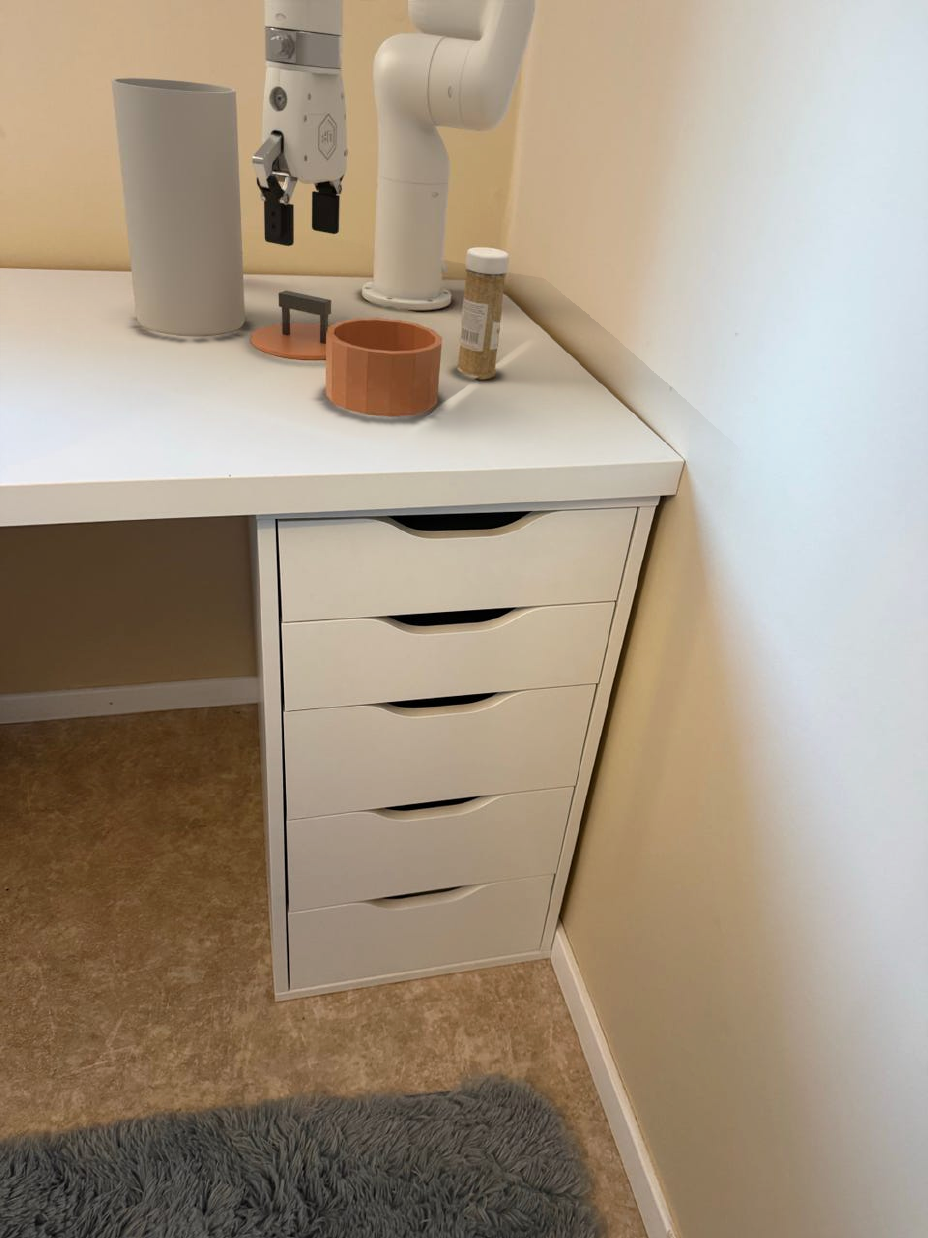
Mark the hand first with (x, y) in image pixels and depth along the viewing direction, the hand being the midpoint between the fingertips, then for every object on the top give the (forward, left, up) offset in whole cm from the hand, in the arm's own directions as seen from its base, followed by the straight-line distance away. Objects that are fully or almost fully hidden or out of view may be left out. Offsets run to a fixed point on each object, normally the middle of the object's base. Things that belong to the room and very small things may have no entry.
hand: (303, 237), depth 98 cm
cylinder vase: (+1, -15, -12) cm, 19 cm away
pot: (+10, +15, -12) cm, 22 cm away
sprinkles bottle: (-4, +20, -12) cm, 24 cm away
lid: (0, 0, -12) cm, 12 cm away
